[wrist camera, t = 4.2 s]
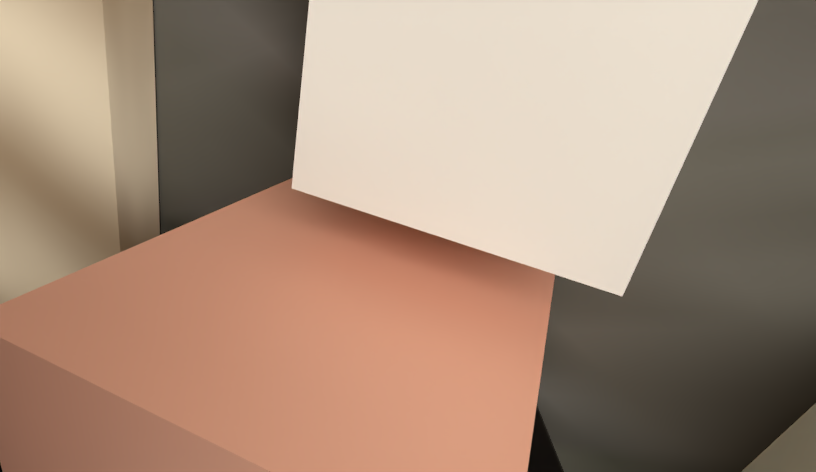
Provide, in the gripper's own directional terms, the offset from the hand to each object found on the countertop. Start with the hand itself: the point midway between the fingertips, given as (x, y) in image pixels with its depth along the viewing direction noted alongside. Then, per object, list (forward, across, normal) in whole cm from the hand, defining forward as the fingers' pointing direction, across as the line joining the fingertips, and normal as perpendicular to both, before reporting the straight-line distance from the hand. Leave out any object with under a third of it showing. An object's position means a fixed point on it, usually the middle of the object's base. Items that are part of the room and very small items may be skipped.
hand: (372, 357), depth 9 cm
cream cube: (+2, -1, -6) cm, 6 cm away
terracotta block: (+2, 0, 0) cm, 2 cm away
